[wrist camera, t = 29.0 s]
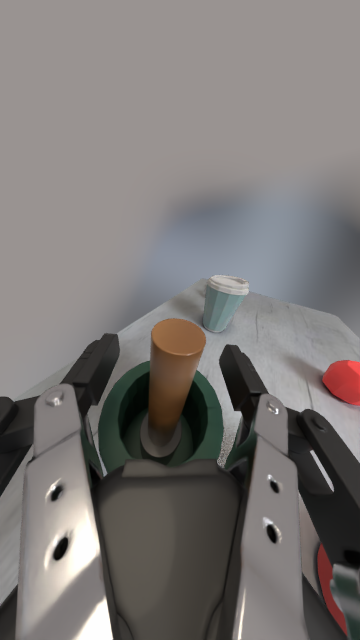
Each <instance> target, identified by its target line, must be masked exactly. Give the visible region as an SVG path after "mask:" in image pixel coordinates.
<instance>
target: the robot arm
mask: <svg viewBox="0 0 360 640" xmlns="http://www.w3.org/2000/svg"><path fill="white" fill-rule="evenodd" d="M119 353H120V347H119V341H118V335H117V334H108V333H106V334H104V335H103V336H102V338H101V339H100V340H95V341H94V342H92V343H91V344H90V345H88V347H87V348H86V349H85V351H84V352H83V354H82V355H81V356H80V357H79V359H78V360H77V361H76V363H75V364H74V365H73V367H72V368H71V370H70V371H69V372H68V374H67V375H66V376H65V378H64V379H63V380H62V382H61V383H60V384H59V385H56V386H53V387H51V388H49V389H48V390H46V391H45V392H44V393H43V394H42V395H40V396H36V397H32V398H28V399H23V400H19V401H15V402H14V401H12V400H11V399H10V398H9V397H0V497H1V495H2V493H3V492H4V490H5V488H6V487H7V485H8V484H9V482H10V480H11V479H12V477H13V475H14V474H15V472H16V470H17V469H18V467H19V465H20V464H21V462H22V460H23V459H24V457H25V456H26V454H27V452H28V451H29V449H30V447H31V446H32V444H34V451H33V457H32V459H31V460H30V461H29V462H28V463H27V465H26V468H25V472H24V484H23V503H22V522H21V541H20V560H19V579H18V584H17V585H16V587H15V588H14V589H13V590H12V592H11V593H10V594H9V596H8V597H7V598H6V599H5V601H4V602H3V603H2V604H1V606H0V640H360V463H359V462H358V460H357V459H356V458H355V456H354V455H353V454H352V452H351V451H350V450H349V448H348V447H347V446H346V444H345V443H344V442H343V440H342V439H341V438H340V436H339V435H338V434H337V432H336V431H335V430H334V428H333V427H332V425H331V424H330V423H329V422H328V421H327V420H326V419H325V418H324V417H323V416H322V415H320V414H319V413H317V412H316V411H313V410H310V409H305V410H304V411H302V412H301V413H300V412H298V411H295V410H292V409H290V408H287V407H285V406H284V405H283V404H282V403H281V401H280V400H278V399H277V398H276V397H274V396H272V395H270V394H269V393H268V391H267V389H266V388H265V386H264V384H263V382H262V380H261V379H260V377H259V375H258V373H257V372H256V370H255V368H254V366H253V364H252V363H251V361H250V359H249V358H248V357H247V356H246V355H245V354H244V353H241V351H240V349H239V347H238V346H237V345H228V344H227V345H226V346H225V348H224V350H223V352H222V354H221V356H220V359H219V364H220V368H221V371H222V374H223V377H224V380H225V383H226V387H227V390H228V393H229V396H230V399H231V402H232V405H233V408H234V411H241V413H242V416H241V419H240V423H239V426H238V430H237V433H236V437H235V441H234V444H233V447H232V450H231V452H230V453H229V455H228V458H227V460H226V463H225V466H224V468H223V467H221V466H219V465H218V464H217V459H194V460H191V461H189V462H186V463H184V464H181V465H179V466H176V467H173V468H172V467H168V466H166V465H163V464H161V463H158V462H155V461H153V460H150V459H125V464H124V465H122V466H120V467H118V468H116V469H114V470H113V471H111V472H110V473H108V474H107V475H106V476H105V477H104V476H103V472H102V468H101V464H100V460H99V457H98V454H97V451H96V448H95V444H94V440H93V436H92V431H91V427H90V423H89V419H88V414H87V412H88V410H89V408H90V406H91V405H95V406H98V403H99V401H100V399H101V396H102V394H103V392H104V390H105V387H106V385H107V383H108V380H109V378H110V376H111V374H112V371H113V369H114V367H115V364H116V362H117V360H118V357H119ZM311 450H314V452H315V454H316V455H317V457H318V459H319V460H320V462H321V464H322V466H323V467H324V469H325V471H326V473H327V474H328V476H329V478H330V479H331V481H332V484H333V486H334V492H333V491H332V490H331V488H330V487H329V485H328V483H327V481H326V480H325V478H324V476H323V474H322V473H321V471H320V469H319V467H318V465H317V464H316V462H315V460H314V458H313V456H312V455H311V453H310V451H311ZM298 490H299V492H300V495H301V497H302V499H303V502H304V504H305V506H306V509H307V511H308V513H309V515H310V518H311V520H312V522H313V525H314V527H315V529H316V532H317V534H318V536H319V538H320V541H321V543H322V545H323V548H324V550H325V552H326V555H327V557H328V559H329V561H330V564H331V566H332V568H333V571H332V575H333V579H331V580H330V590H331V594H332V596H333V599H334V601H335V603H336V604H337V606H338V608H339V609H340V610H341V611H342V612H343V615H344V618H345V623H346V628H347V636H346V634H345V633H344V631H343V630H342V629H341V627H340V626H339V624H338V623H337V621H336V620H335V619H334V617H333V616H332V614H331V613H330V611H329V610H328V608H327V607H326V606H325V604H324V603H323V601H322V600H321V598H320V597H319V596H318V594H317V593H316V591H315V590H314V588H313V587H312V586H311V584H310V583H309V581H308V580H307V578H306V577H305V576H304V574H303V573H302V570H301V547H300V524H299V500H298Z"/></svg>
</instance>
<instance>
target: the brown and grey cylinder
mask: <svg viewBox="0 0 360 640" xmlns="http://www.w3.org/2000/svg"><path fill="white" fill-rule="evenodd" d="M205 344H206V337H205V334H204V332H203V331H202V330H201V328H199V327H198V326H197V325H196V324H194V323H192V322H190V321H187V320H183V319H166V320H163V321H161V322H159V323H157V324H156V325H155V326H154V328H153V329H152V332H151V352H150V380H149V409H148V413H147V414H146V415H145V417H144V418H143V420H142V423H141V426H140V449H141V455H142V458H143V459H150V460H153V461H155V462H158V463H161V464H163V465H167V464H168V463H169V462H170V461H171V459H172V458H173V456H174V454H175V452H176V449H177V447H178V445H179V443H180V440H181V437H182V424H181V420H180V416H181V413H182V410H183V407H184V404H185V401H186V398H187V396H188V393H189V390H190V387H191V384H192V381H193V378H194V375H195V373H196V370H197V367H198V364H199V361H200V358H201V355H202V353H203V350H204V347H205Z"/></svg>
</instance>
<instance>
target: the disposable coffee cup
mask: <svg viewBox="0 0 360 640" xmlns="http://www.w3.org/2000/svg"><path fill="white" fill-rule="evenodd" d="M248 286H249V282H248V281H246V280H244V279H242V278H238V277H233V276H224V275H216V276H212V277H211V278H209V279H208V281H207V290H206V299H205V307H204V316H203V325H204V327H205V328H206V329H207V330H209V331H212V332H221V331H223V330H224V329H225V327H226V326H227V324H228V322H229V321H230V319H231V318H232V316H233V315H234V313H235V311H236V310H237V308H238V307H239V305H240V303H241V302H242V300H243V299H244V297H245V295H246V294H248V291H249V288H248Z"/></svg>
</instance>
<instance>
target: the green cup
mask: <svg viewBox="0 0 360 640" xmlns="http://www.w3.org/2000/svg"><path fill="white" fill-rule="evenodd" d="M149 380H150V361H147V362H144V363H141V364H139V365H138V366H136V367H134V368H133V369H131V370H129V371H128V372H126V373H125V374H124V375H123V376H122V377H121V378H120V379H119V380H118V381H117V382H116V383H115V385H114V387H113V388H112V390H111V392H110V393H109V395H108V397H107V399H106V400H105V403H104V405H103V409H102V412H101V416H100V420H99V424H98V425H99V426H98V438H99V452H100V456H101V458H102V461H103V463H104V466H105V468H106V471H107V473H110V472H111V471H113V470H114V469H116V468H118V467H120V466H122V465H124V464H125V459H143V458H142V455H141V449H140V426H141V423H142V420H143V418H144V417H145V415H146V414H147V413H148V409H149ZM180 420H181V424H182V437H181V440H180V443H179V445H178V447H177V449H176V452H175V454H174V456H173V458H172V459H171V461H170V462H169V463H168V464H167V465H166V466H168V467H172V468H173V467H176V466H179V465H181V464H184V463H186V462H189V461H191V460H194V459H218V457H219V454H220V450H221V444H222V438H223V432H224V431H223V430H224V427H223V418H222V409H221V406H220V403H219V400H218V398H217V395H216V392H215V390H214V389H213V387H212V386H211V385H210V383H209V382H208V380H207V379H206V378H205V377H204V376H203V375H202V374H201V373H200V372H199V371H197V370H196V373H195V375H194V378H193V381H192V384H191V387H190V390H189V393H188V396H187V398H186V401H185V404H184V407H183V410H182V413H181V416H180Z"/></svg>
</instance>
